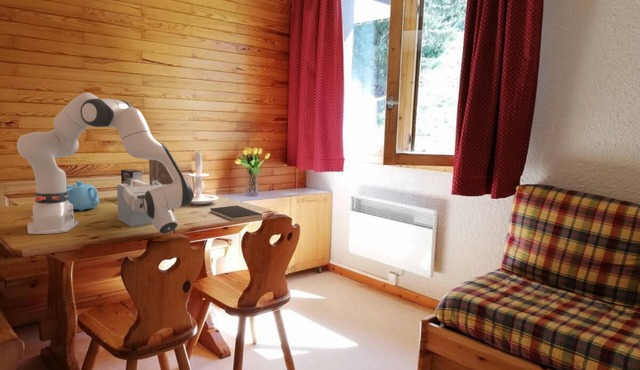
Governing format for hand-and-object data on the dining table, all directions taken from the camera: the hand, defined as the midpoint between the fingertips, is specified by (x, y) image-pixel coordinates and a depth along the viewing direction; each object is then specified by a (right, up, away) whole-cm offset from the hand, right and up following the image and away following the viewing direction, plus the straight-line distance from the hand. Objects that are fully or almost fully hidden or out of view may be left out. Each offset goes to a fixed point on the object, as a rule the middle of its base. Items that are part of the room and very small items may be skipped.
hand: (143, 182), depth 198 cm
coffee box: (-29, -9, +60) cm, 67 cm away
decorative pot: (-43, -13, +32) cm, 55 cm away
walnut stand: (-3, -14, +33) cm, 36 cm away
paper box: (-7, -17, +10) cm, 21 cm away
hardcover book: (+33, -16, +31) cm, 49 cm away
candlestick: (+8, -11, +56) cm, 58 cm away
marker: (-4, -2, +5) cm, 6 cm away
